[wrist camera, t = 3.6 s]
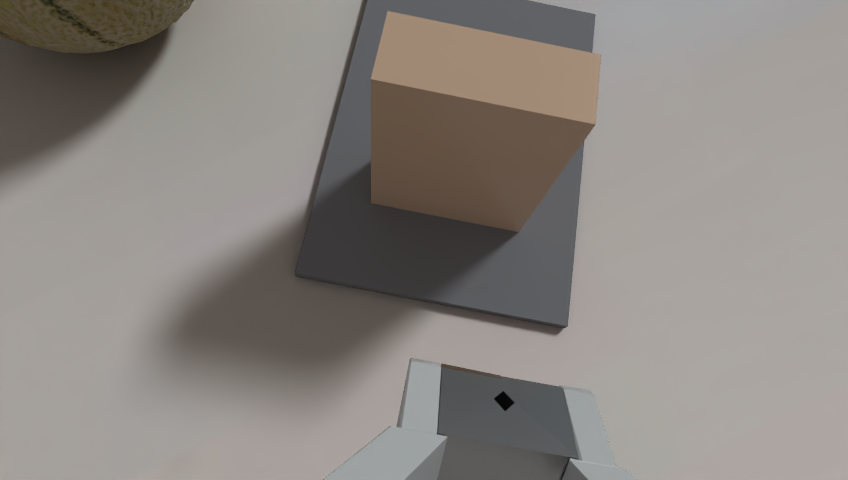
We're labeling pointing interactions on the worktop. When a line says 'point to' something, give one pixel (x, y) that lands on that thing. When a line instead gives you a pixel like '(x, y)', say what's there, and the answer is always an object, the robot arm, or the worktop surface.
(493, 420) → the robot arm
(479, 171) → the block
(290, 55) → the worktop surface
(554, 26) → the mat
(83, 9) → the cantaloupe
